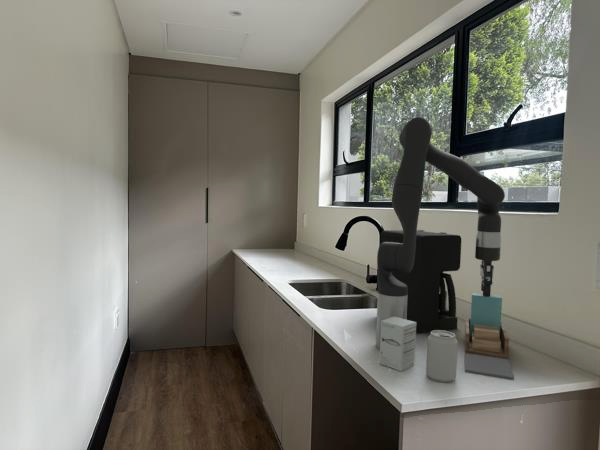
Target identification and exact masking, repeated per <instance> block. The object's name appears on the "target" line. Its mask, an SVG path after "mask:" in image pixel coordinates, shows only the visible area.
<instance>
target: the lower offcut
mask: <svg viewBox="0 0 600 450" xmlns="http://www.w3.org/2000/svg"><path fill="white" fill-rule="evenodd" d="M500 348H501V342H500V338H499V342H493V341H486V340H479V339H474V333H472V349H478V350H485V351H492V352H499V353H500Z"/></svg>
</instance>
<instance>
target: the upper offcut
mask: <svg viewBox="0 0 600 450" xmlns="http://www.w3.org/2000/svg"><path fill="white" fill-rule="evenodd" d="M474 339H479V340H486V341H493V342H499V330H498V327H491V326H483V325H475V324H474Z"/></svg>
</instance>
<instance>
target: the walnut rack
mask: <svg viewBox="0 0 600 450" xmlns="http://www.w3.org/2000/svg"><path fill="white" fill-rule="evenodd" d="M470 321H471V317H470V318H468V320H465V322H464V323H465V325H464V327H465V328H464V354H465V353H468V354H475V355H482V356H489V357H496V358H503V359H509V348H510V347H509V346H510V338H509V335H508V332H507V330H506V326H505V325H504V324H501V327H500V342H501V348H500V353H499V352H492V351H485V350H478V349H472V336H470Z"/></svg>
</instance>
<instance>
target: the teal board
mask: <svg viewBox="0 0 600 450" xmlns="http://www.w3.org/2000/svg"><path fill="white" fill-rule="evenodd" d="M470 303H471V305H470V306H471V307H470V318H471V321H470V336H472V333H474V324H475V325H483V326H491V327H498V330H499V338H500V327H501V325H502V308H503V307H502V306H503V297H502V296H501V295H493V294H490V297H484V296H483V293H482V294H481V293H475V292H474V293H471V302H470Z"/></svg>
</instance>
